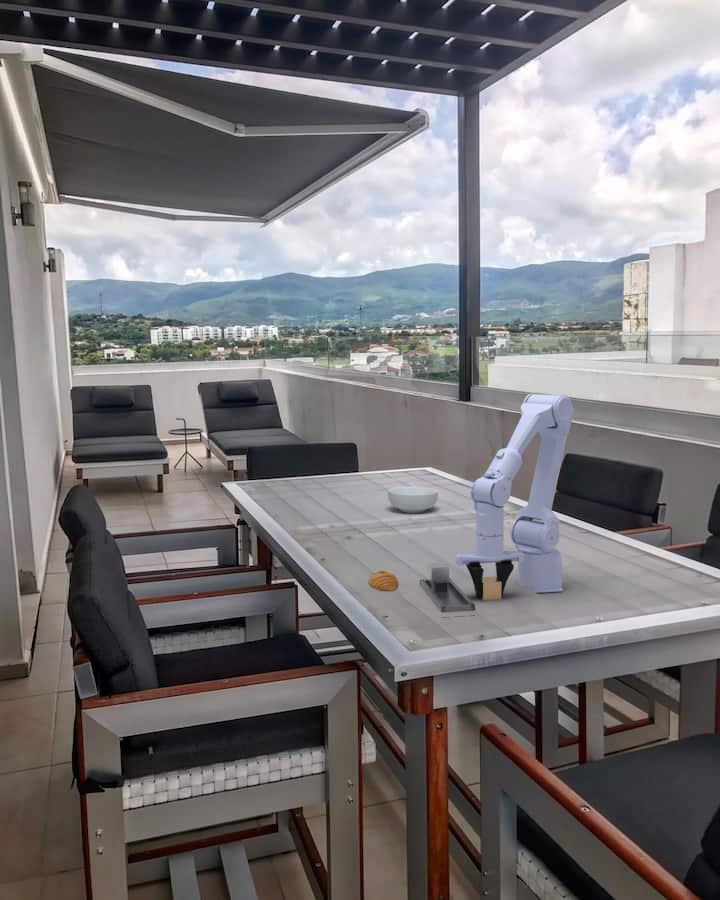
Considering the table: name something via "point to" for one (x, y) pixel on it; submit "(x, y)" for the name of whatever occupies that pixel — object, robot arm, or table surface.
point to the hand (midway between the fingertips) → (489, 595)
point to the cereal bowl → (412, 498)
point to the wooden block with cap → (491, 588)
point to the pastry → (383, 581)
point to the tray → (449, 598)
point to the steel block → (438, 576)
